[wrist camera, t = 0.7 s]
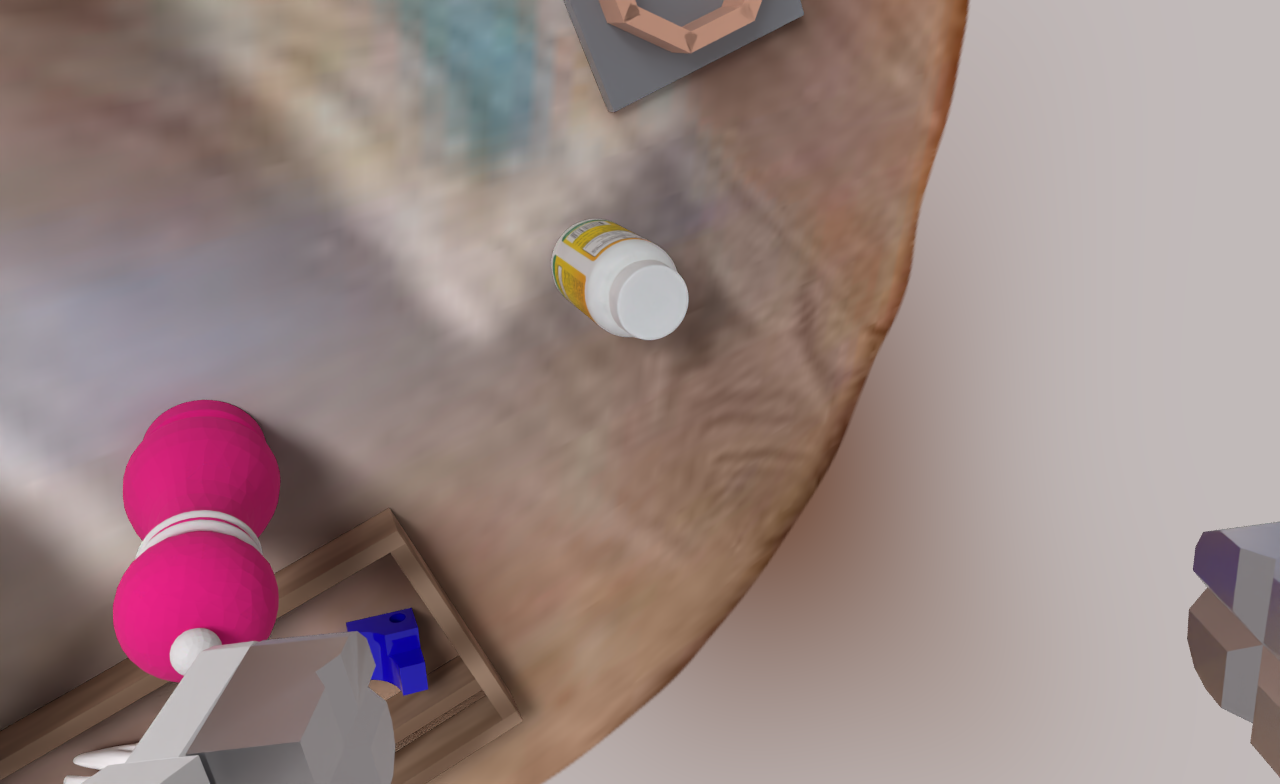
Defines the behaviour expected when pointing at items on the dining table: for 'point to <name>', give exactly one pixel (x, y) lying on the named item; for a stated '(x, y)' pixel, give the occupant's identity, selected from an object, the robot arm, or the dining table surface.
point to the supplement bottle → (619, 280)
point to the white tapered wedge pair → (100, 760)
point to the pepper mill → (197, 538)
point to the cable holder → (395, 649)
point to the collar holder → (666, 38)
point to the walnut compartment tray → (295, 587)
